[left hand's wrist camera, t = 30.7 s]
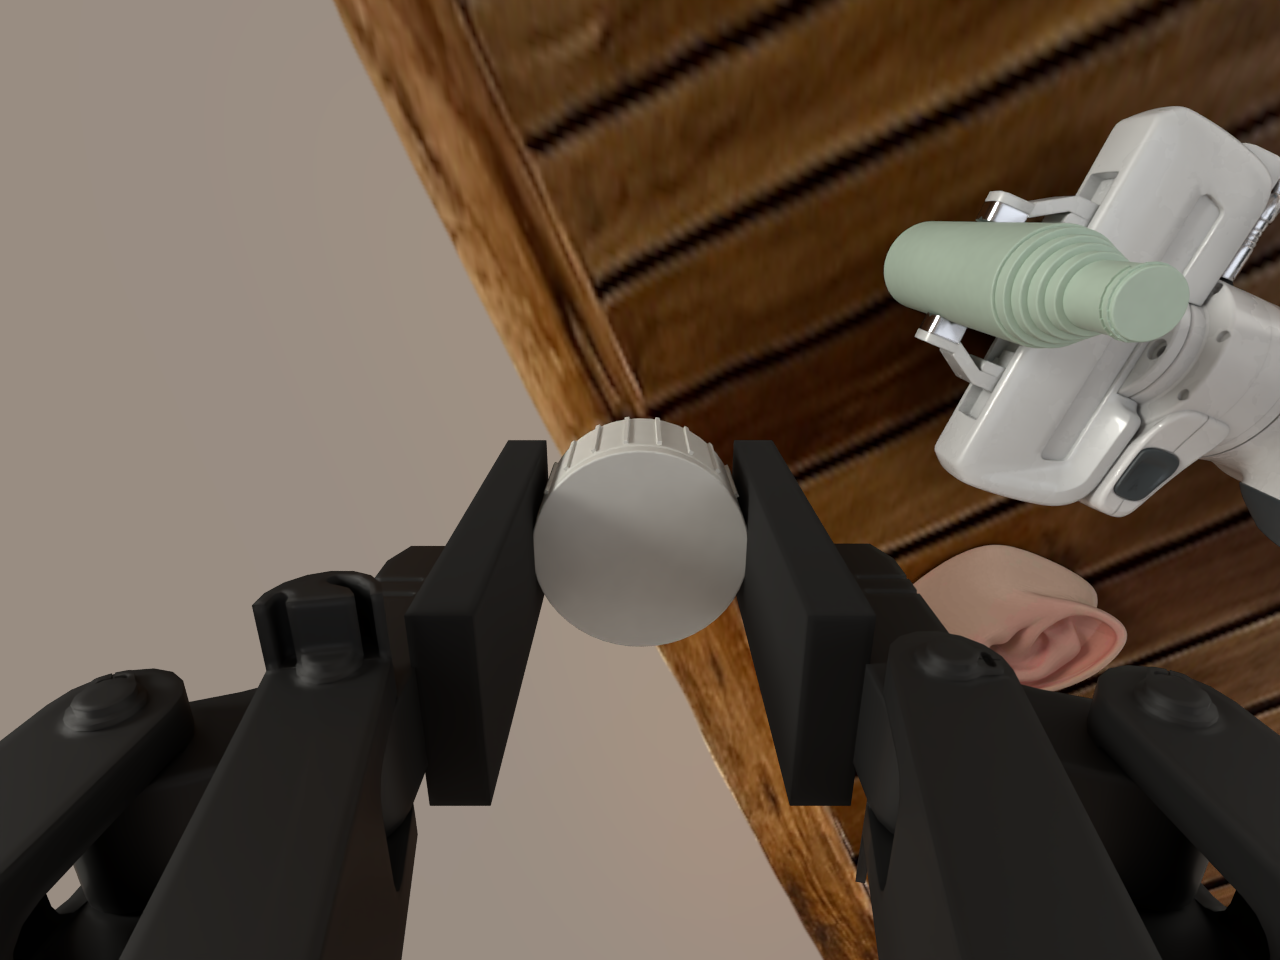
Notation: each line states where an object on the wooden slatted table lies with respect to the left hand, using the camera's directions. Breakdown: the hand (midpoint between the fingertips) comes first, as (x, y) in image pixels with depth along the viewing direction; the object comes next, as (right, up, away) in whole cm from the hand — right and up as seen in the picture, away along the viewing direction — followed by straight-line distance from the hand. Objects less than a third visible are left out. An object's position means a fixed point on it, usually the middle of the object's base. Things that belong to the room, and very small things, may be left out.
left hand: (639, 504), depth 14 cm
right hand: (+16, +12, +22) cm, 30 cm away
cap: (0, -1, -2) cm, 2 cm away
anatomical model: (+26, -9, +36) cm, 45 cm away
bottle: (+17, +13, +28) cm, 35 cm away
